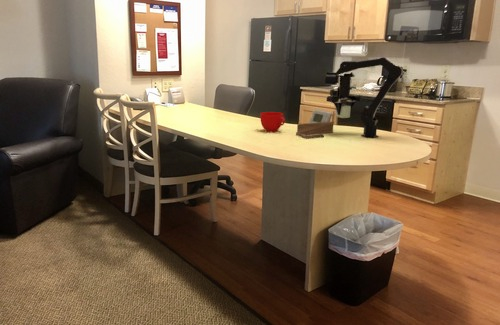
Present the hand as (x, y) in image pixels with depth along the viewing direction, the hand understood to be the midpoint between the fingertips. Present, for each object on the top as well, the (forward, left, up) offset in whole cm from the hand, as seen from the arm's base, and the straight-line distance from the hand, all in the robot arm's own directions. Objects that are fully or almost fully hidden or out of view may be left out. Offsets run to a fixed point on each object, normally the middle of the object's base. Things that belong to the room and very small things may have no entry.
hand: (342, 114), depth 212 cm
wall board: (+2, +13, -11) cm, 17 cm away
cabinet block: (0, 0, -1) cm, 1 cm away
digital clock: (+19, +2, -11) cm, 22 cm away
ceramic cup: (+22, +31, -11) cm, 39 cm away
